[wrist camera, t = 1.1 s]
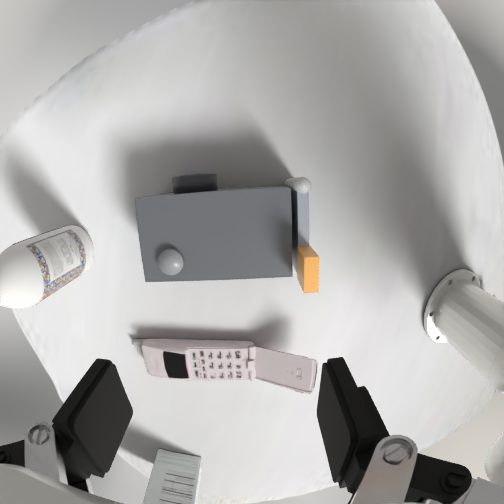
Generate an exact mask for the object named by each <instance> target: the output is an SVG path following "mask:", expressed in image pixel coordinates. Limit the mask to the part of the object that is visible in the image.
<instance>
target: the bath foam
mask: <svg viewBox="0 0 504 504" xmlns="http://www.w3.org/2000/svg"><path fill="white" fill-rule="evenodd" d="M93 257H94V250H93V244H92V241H91V239H90V237H89V235H88V234H87V233H86V232H85V231H84V230H83V229H82V228H80V227H78V226H75V225H69V226H65V227H62V228H58V229H55V230H52V231H49V232H46V233H43V234H40V235H37V236H34V237H32V238H29V239H26V240H23V241H20V242H18V243H15V244H13V245H12V246H10V247H8V248H7V249H5V250H4V251H3V252H2V253H1V254H0V306H4V307H8V308H12V309H25V308H29V307H32V306H34V305H36V304H38V303H39V302H41V301H42V300H44V299H45V298H47V297H48V296H50V295H51V294H52V293H54V292H55V291H57V290H58V289H60V288H61V287H63V286H65V285H66V284H68V283H69V282H71V281H72V280H74V279H75V278H77V277H78V276H80V275H81V274H83V273H84V272H86V271H87V270H88V269H89V268H90V266H91V264H92V262H93Z"/></svg>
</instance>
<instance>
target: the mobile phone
mask: <svg viewBox="0 0 504 504" xmlns="http://www.w3.org/2000/svg"><path fill="white" fill-rule="evenodd" d="M132 344H133V345H139V346H141V348H142V352H143V356H144V360H145V364H146V368H147V372H148V374H149V375H151V376H156V377H162V378H169V379H177V380H189V381H191V380H208V381H209V380H249V379H250V380H254V379H255V378H256V379H259V380H262V381H265V382H268V383H272V384H275V385H278V386H282V387H285V388H289V389H292V390H295V391H297V392H301V393H304V392H305V393H309V394H310V393H312V391H313V389H314V385H315V380H316V374H317V361H316V360H314V359H310V358H308V357H304V356H298V355H294V354H289V353H285V352H280V351H275V350H271V349H267V348H262V347H258V346H254V342H253V341H235V340H191V339H132Z"/></svg>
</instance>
